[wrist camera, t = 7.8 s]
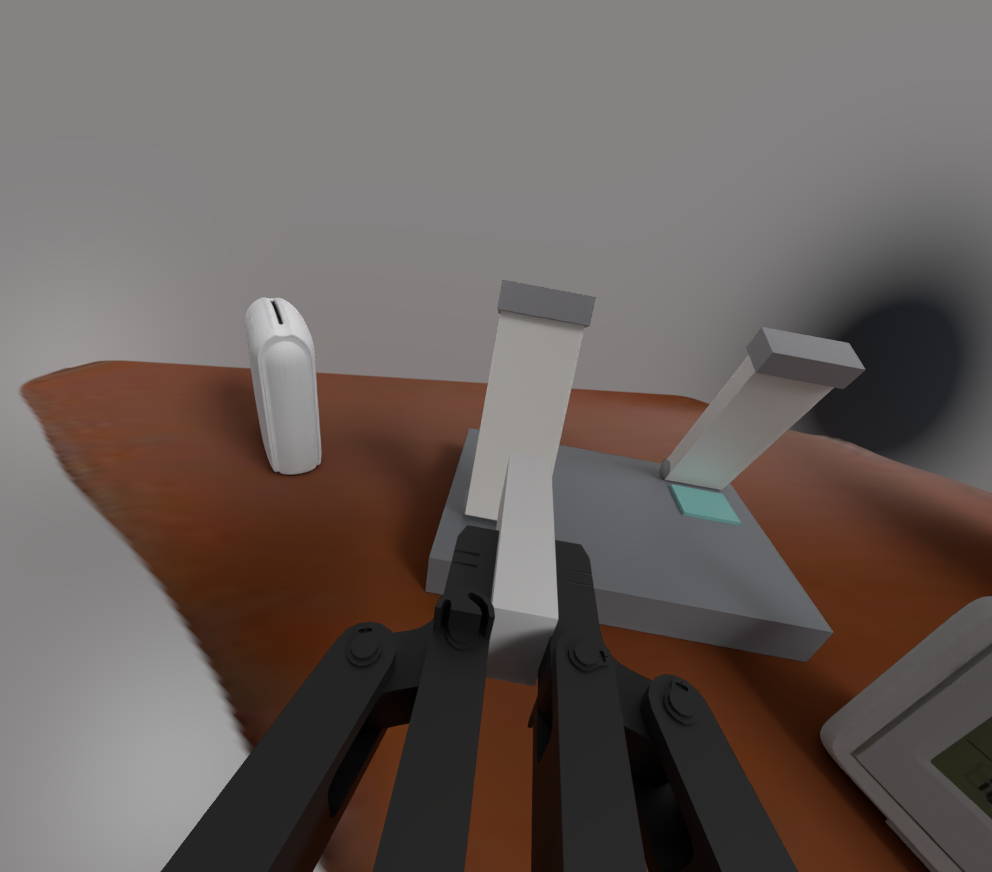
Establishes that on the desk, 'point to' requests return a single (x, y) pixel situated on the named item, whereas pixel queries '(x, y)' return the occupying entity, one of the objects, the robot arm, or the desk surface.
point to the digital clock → (929, 743)
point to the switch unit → (661, 555)
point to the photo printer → (284, 385)
